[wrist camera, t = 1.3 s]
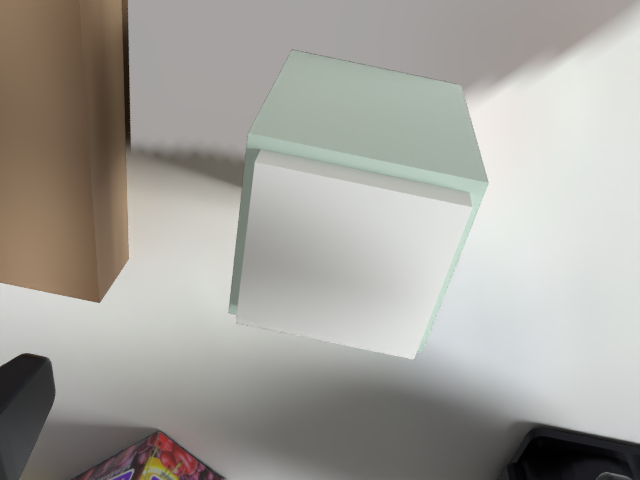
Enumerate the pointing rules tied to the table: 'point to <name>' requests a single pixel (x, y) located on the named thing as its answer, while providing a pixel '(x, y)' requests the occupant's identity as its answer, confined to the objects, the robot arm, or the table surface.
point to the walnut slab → (64, 144)
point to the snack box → (150, 463)
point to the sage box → (354, 204)
